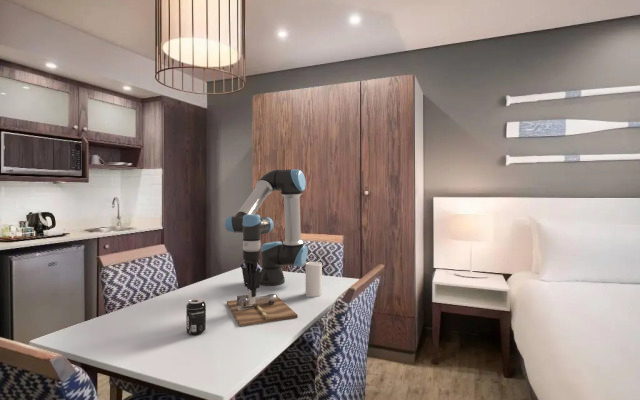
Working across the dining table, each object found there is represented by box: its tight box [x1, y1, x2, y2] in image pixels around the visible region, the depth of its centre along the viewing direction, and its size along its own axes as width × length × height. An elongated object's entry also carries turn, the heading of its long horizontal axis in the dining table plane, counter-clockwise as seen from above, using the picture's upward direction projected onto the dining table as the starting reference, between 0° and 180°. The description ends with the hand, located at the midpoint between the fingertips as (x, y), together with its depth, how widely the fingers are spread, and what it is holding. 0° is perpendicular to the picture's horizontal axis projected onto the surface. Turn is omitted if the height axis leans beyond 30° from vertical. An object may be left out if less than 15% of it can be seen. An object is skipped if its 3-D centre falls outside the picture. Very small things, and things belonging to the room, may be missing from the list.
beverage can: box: [185, 297, 207, 336], centre depth 130 cm, size 7×7×12 cm
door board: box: [226, 294, 299, 328], centre depth 154 cm, size 30×24×5 cm
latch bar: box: [239, 293, 276, 307], centre depth 156 cm, size 17×4×3 cm, turn 120°
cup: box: [305, 261, 323, 298], centre depth 178 cm, size 8×8×16 cm
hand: (252, 303), depth 152 cm, fingers closed
